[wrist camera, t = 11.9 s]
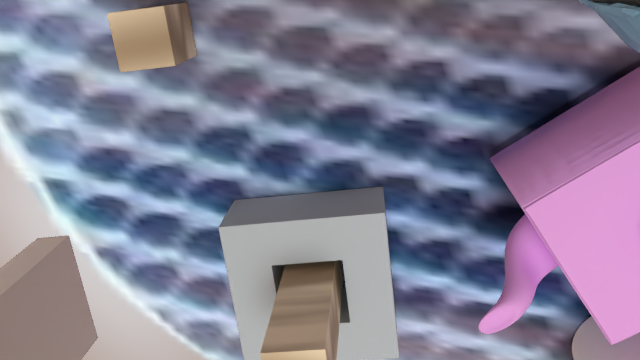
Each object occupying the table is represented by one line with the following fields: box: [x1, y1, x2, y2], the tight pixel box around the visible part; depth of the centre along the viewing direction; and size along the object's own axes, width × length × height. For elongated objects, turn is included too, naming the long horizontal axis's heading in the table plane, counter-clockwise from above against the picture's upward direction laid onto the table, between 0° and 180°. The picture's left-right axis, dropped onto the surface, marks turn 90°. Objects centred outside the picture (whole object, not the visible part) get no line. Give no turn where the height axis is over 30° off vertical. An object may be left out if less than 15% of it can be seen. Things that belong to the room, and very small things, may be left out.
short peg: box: [107, 2, 197, 72], centre depth 38 cm, size 4×4×5 cm
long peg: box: [260, 260, 343, 360], centre depth 39 cm, size 4×4×14 cm
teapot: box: [478, 67, 640, 345], centre depth 36 cm, size 20×10×12 cm, turn 125°
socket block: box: [219, 187, 399, 360], centre depth 43 cm, size 11×11×5 cm
